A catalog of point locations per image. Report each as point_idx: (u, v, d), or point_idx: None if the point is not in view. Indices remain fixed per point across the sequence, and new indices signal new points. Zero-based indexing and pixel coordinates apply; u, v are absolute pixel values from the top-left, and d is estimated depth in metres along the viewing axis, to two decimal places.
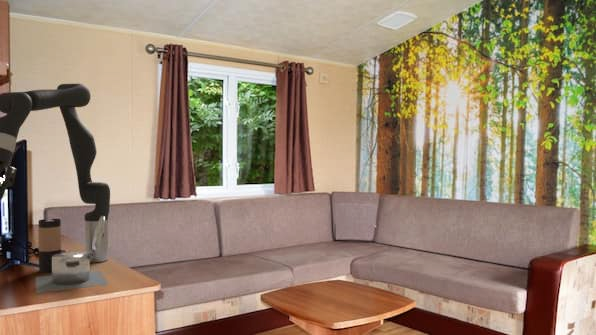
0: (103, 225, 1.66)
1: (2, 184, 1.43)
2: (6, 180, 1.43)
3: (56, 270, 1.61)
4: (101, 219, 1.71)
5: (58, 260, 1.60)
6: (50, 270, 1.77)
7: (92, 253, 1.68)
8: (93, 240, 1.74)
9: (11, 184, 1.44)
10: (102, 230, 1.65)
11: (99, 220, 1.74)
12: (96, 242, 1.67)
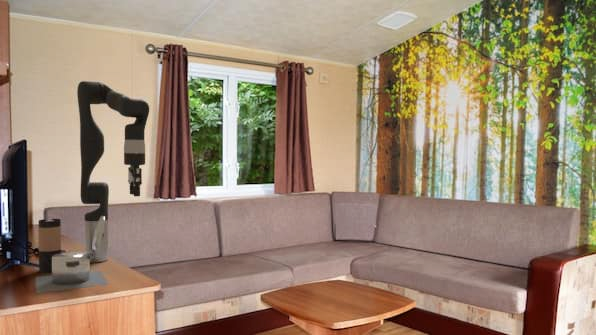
0: (103, 225, 1.66)
1: None
2: None
3: (56, 270, 1.61)
4: (101, 219, 1.71)
5: (58, 260, 1.60)
6: (50, 270, 1.77)
7: (92, 253, 1.68)
8: (93, 240, 1.74)
9: None
10: (102, 230, 1.65)
11: (99, 220, 1.74)
12: (96, 242, 1.67)
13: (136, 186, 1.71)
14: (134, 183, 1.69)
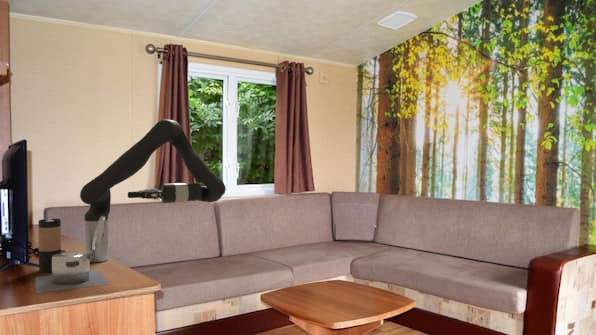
0: (103, 225, 1.66)
1: None
2: None
3: (56, 270, 1.61)
4: (101, 219, 1.71)
5: (58, 260, 1.60)
6: (50, 270, 1.77)
7: (92, 253, 1.68)
8: (93, 240, 1.74)
9: None
10: (102, 230, 1.65)
11: (99, 220, 1.74)
12: (96, 242, 1.67)
13: (139, 194, 1.75)
14: (142, 191, 1.75)
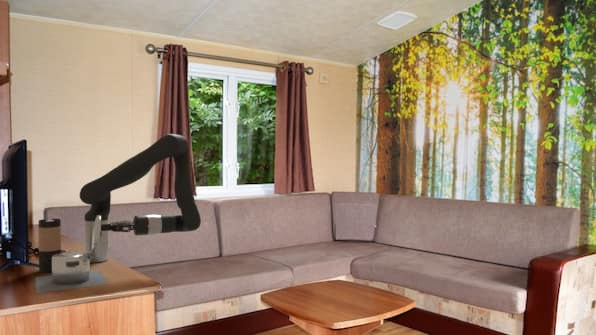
0: (99, 224, 1.66)
1: None
2: None
3: (56, 270, 1.61)
4: (97, 218, 1.70)
5: (58, 260, 1.60)
6: (50, 270, 1.77)
7: (92, 253, 1.68)
8: (92, 240, 1.73)
9: None
10: (99, 229, 1.65)
11: (95, 220, 1.73)
12: (95, 242, 1.67)
13: (110, 226, 1.71)
14: (113, 224, 1.70)
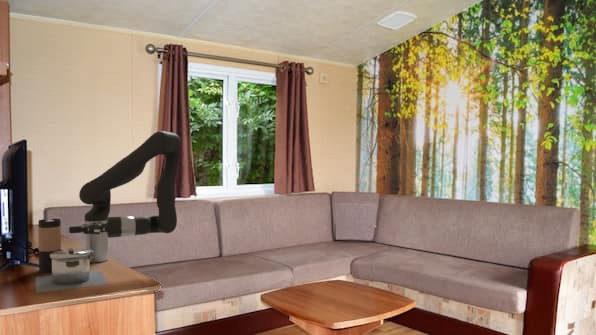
0: (59, 258, 1.59)
1: None
2: None
3: (56, 270, 1.61)
4: None
5: (58, 260, 1.60)
6: (50, 270, 1.77)
7: (93, 253, 1.68)
8: None
9: None
10: (65, 257, 1.60)
11: None
12: None
13: (81, 229, 1.66)
14: (84, 226, 1.65)
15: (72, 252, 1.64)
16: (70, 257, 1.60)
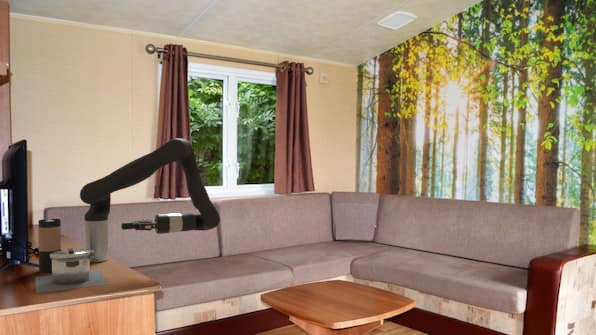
0: (59, 258, 1.59)
1: None
2: None
3: (56, 270, 1.61)
4: None
5: (58, 260, 1.60)
6: (50, 270, 1.77)
7: (93, 253, 1.68)
8: None
9: None
10: (65, 257, 1.60)
11: None
12: None
13: (133, 225, 1.75)
14: (136, 223, 1.74)
15: (72, 252, 1.64)
16: (70, 257, 1.60)
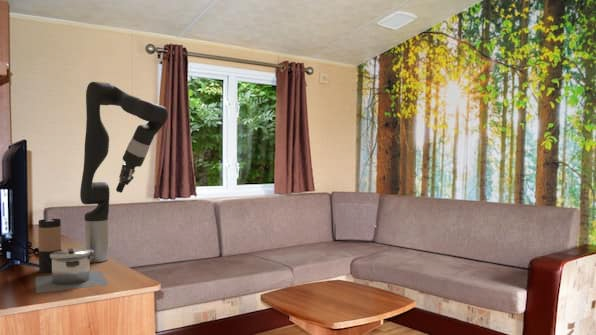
0: (59, 258, 1.59)
1: None
2: None
3: (56, 270, 1.61)
4: None
5: (58, 260, 1.60)
6: (50, 270, 1.77)
7: (93, 253, 1.68)
8: None
9: None
10: (65, 257, 1.60)
11: None
12: None
13: (122, 184, 1.80)
14: (121, 182, 1.78)
15: (72, 252, 1.64)
16: (70, 257, 1.60)
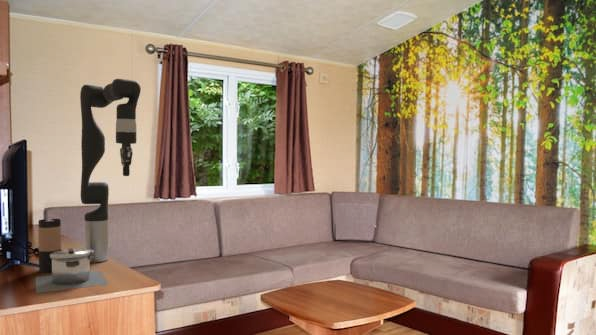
0: (59, 258, 1.59)
1: None
2: (128, 161, 1.85)
3: (56, 270, 1.61)
4: None
5: (58, 260, 1.60)
6: (50, 270, 1.77)
7: (93, 253, 1.68)
8: None
9: None
10: (65, 257, 1.60)
11: None
12: None
13: (126, 166, 1.81)
14: (124, 163, 1.79)
15: (72, 252, 1.64)
16: (70, 257, 1.60)
